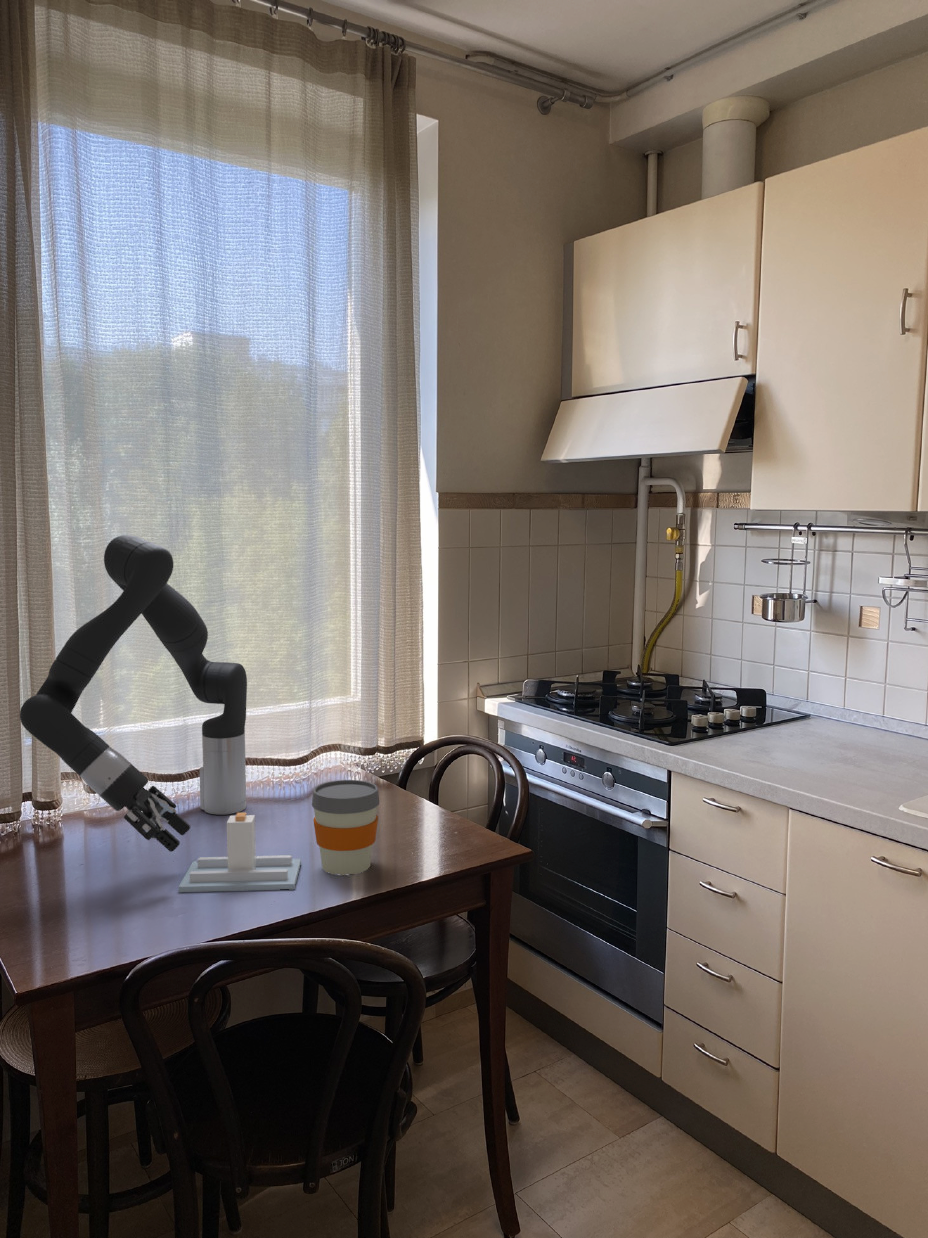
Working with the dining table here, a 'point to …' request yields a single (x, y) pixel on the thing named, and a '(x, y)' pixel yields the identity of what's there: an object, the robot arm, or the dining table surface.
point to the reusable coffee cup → (345, 824)
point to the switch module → (241, 842)
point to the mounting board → (241, 875)
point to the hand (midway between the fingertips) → (181, 839)
